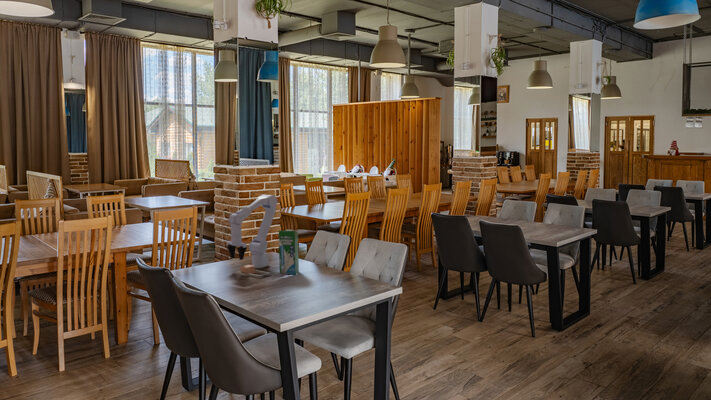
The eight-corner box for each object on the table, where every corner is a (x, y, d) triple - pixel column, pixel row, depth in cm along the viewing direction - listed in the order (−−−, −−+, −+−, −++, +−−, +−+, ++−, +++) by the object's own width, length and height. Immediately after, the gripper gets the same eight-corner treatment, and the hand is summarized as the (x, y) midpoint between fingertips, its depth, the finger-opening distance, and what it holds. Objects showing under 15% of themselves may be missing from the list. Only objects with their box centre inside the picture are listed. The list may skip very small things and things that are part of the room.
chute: (250, 272, 306) (250, 268, 306) (272, 276, 295) (272, 272, 295) (235, 276, 297) (235, 272, 297) (258, 281, 287) (257, 276, 286)
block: (248, 271, 303) (248, 264, 303) (254, 272, 300) (254, 265, 300) (240, 273, 298) (240, 266, 298) (246, 275, 295) (246, 267, 295)
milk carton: (298, 271, 308) (297, 228, 305) (295, 275, 299) (294, 230, 296) (283, 271, 309) (282, 228, 306) (279, 274, 300) (278, 230, 297)
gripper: (222, 234, 303) (223, 258, 305) (239, 237, 294) (240, 261, 296) (231, 233, 309) (232, 256, 310) (249, 235, 300) (250, 259, 302)
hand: (237, 258), depth 303 cm, fingers open, 7 cm apart
